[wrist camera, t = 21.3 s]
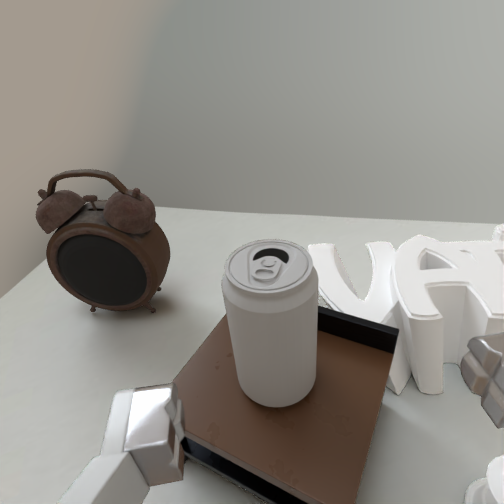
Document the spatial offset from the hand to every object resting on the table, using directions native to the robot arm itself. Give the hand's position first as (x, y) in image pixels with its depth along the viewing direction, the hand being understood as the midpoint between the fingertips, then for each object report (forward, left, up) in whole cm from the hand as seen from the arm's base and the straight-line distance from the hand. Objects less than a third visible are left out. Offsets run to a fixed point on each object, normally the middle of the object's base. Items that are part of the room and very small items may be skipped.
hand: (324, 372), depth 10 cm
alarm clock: (+17, +34, -25) cm, 46 cm away
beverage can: (+10, +7, -17) cm, 21 cm away
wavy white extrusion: (+29, -7, -25) cm, 39 cm away
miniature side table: (+10, +7, -25) cm, 28 cm away
